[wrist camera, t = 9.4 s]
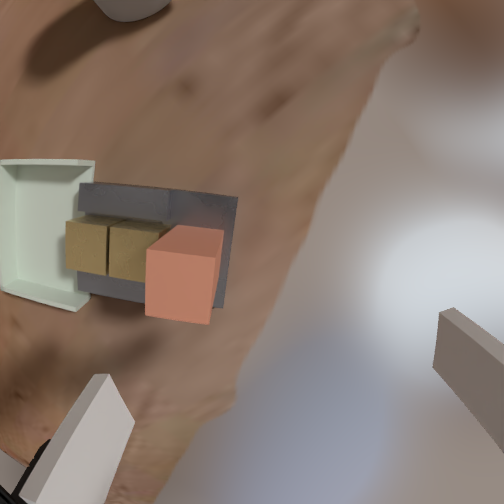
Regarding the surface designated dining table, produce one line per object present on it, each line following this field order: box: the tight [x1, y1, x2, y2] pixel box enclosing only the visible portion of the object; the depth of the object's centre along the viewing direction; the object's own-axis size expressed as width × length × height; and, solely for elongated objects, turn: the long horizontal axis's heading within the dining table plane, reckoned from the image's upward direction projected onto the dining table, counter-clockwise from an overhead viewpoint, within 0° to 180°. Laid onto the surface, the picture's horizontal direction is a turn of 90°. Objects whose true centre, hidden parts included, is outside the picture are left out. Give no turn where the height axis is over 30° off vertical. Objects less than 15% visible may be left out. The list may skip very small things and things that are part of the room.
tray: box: [0, 159, 95, 312], centre depth 24 cm, size 11×14×3 cm
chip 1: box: [65, 215, 125, 276], centre depth 23 cm, size 4×4×4 cm
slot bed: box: [77, 182, 238, 308], centre depth 25 cm, size 14×10×3 cm
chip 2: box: [109, 220, 171, 283], centre depth 23 cm, size 4×4×4 cm
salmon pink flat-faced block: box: [145, 225, 224, 325], centre depth 21 cm, size 4×4×9 cm
